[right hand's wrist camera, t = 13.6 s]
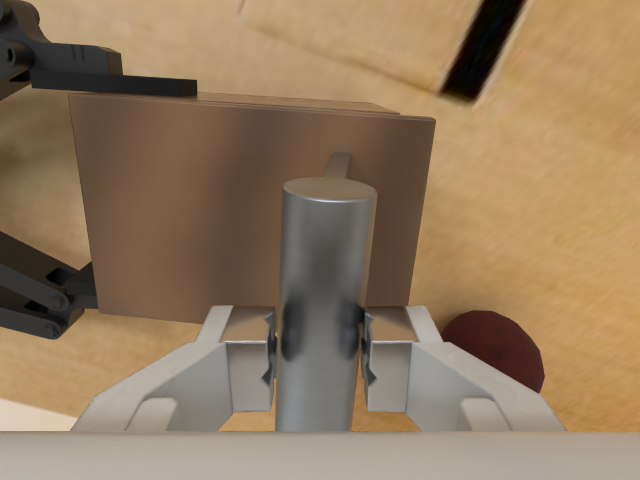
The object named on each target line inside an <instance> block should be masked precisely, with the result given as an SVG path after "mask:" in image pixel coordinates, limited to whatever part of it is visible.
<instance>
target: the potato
mask: <svg viewBox="0 0 640 480" xmlns="http://www.w3.org/2000/svg"><path fill="white" fill-rule="evenodd" d="M440 336H441V338H442V340H443V342H450V343H452V344H454V345H455V346H457V347H459V348H461V349H462V350H464V351H466V352H467V353H469V354H471V355H473V356H474V357H476V358H478V359H479V360H481V361H483V362H485V363H486V364H488V365H490V366H492V367H493V368H495V369H497V370H498V371H500V372H502V373H504V374H505V375H507V376H509V377H510V378H512V379H514V380H516V381H517V382H519V383H521V384H522V385H524V386H526V387H528V388H529V389H531V390H533V391H535V392H536V393H538V394H539V392H540V390H541V388H542V384H543V381H544V377H545V376H544V370H543V363H542V359H541V355H540V350H539V349H538V348H537V346H536V345H535V343H534V342H533V341H532V339H531V338H530V337H529V336H528V335H527V333H526V332H525V331H524V330H523V329H522V328H521V327H520V326H519V325H518V324H517V323H515V322H514V321H512V320H511V319H509V318H507V317H504V316H502V315H500V314H498V313H495V312H493V311H476V310H473V311H470V312H467V313H464V314H461V315H459V316H458V317H456V318H455V319H454V320H452V321H451V322H450V323H449V324H448V325H447V326H446V328H445V329H444V330H443V332H442V333H441V334H440Z"/></svg>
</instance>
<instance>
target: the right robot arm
mask: <svg viewBox="0 0 640 480" xmlns="http://www.w3.org/2000/svg"><path fill="white" fill-rule="evenodd" d="M276 325H277V317H276V308H275V306H234V305H220V306H212V307H211V309H210V311H209V313H208V315H207V317H206V319H205V322H204V324H203V326H202V328H201V330H200V332H199V334H198V336H197V338H196V340H195V342H188V343H186V344H184V345H183V346H181V347H179V348H177V349H176V350H174V351H172V352H170V353H169V354H167V355H165V356H163V357H162V358H160V359H158V360H156V361H155V362H153V363H151V364H150V365H148V366H146V367H144V368H143V369H141V370H139V371H137V372H136V373H134V374H132V375H130V376H129V377H127V378H125V379H124V380H122V381H120V382H118V383H117V384H115V385H113V386H111V387H110V388H108V389H106V390H104V391H103V392H101V393H99V394H97V395H96V396H95V397H94V398H93V400H92V401H91V402H90V404H89V405H88V406H87V408H86V409H85V411H84V412H83V413H82V415H81V416H80V417H79V419H78V420H77V422H76V423H75V424H74V426H73V427H72V429H71V430H70V431H0V480H640V431H567V429H566V428H565V427H564V425H563V424H562V422H561V421H560V420H559V418H558V417H557V415H556V414H555V413H554V411H553V410H552V408H551V407H550V406H549V404H548V403H547V401H546V400H545V398H544V397H543V396H541V395H540V394H538V393H536V392H535V391H533V390H531V389H529V388H528V387H526V386H524V385H522V384H521V383H519V382H517V381H516V380H514V379H512V378H510V377H509V376H507V375H505V374H504V373H502V372H500V371H498V370H497V369H495V368H493V367H492V366H490V365H488V364H486V363H485V362H483V361H481V360H479V359H478V358H476V357H474V356H473V355H471V354H469V353H467V352H466V351H464V350H462V349H461V348H459V347H457V346H455V345H454V344H452V343H450V342H443V340H442V338H441V336H440V334H439V332H438V330H437V328H436V326H435V324H434V321H433V319H432V317H431V315H430V313H429V311H428V309H427V307H426V306H424V305H414V306H367V307H363V309H362V329H363V336H362V338H361V370H362V377H363V378H364V379H365V386H364V392H365V398H366V404H367V411H373V412H406V415H407V416H408V417H409V418H410V419H411V420H412V422H413V423H414V424H415V425H416V426H417V427H418V428H419V429H420V430H421V431H217V430H218V429H219V428H220V427H221V426H222V425H223V424H224V423H225V422H226V421H227V420H228V419H229V418H230V417H231V416H232V415H233V413H232V412H264V411H271V406H272V399H273V393H274V378H276V373H277V362H278V338H277V337H276V336H275V331H276Z"/></svg>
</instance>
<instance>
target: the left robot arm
mask: <svg viewBox="0 0 640 480" xmlns="http://www.w3.org/2000/svg"><path fill="white" fill-rule="evenodd" d="M39 21H40V17H39V13H38V11H37V9H36V8H35V7H34V6H33V5H32V4H30V3H28V2H25V1H22V0H0V101H1V100H2V99H4V98H6V97H8V96H10V95H11V94H13V93H15V92H17V91H18V90H20V89H22V88H24V87H26V86H27V85H29V84H32V88H40V89H56V90H71V91H87V92H111V93H127V94H143V95H159V96H175V97H186V96H196V95H197V80H189V79H173V78H158V77H142V76H127V75H123V71H122V61H121V54H120V53H118V52H116V51H114V50H112V49H110V48H105V47H99V46H91V45H76V44H61V43H52V42H50V41H49V40H48V39H47V38H46V37H45V36H44V35H43V33H42V31H41V29H40V27H39ZM84 308H90V309H99V308H98V301H97V294H96V287H95V280H94V273H93V266H92V261H91V262H90V263H88V264H87V265H86V266H85V267H83V268H82V269H81V270H80V271H79V270H77V269H75V268H73V267H71V266H69V265H67V264H65V263H63V262H61V261H59V260H57V259H55V258H53V257H51V256H49V255H47V254H45V253H43V252H41V251H39V250H37V249H35V248H33V247H31V246H29V245H27V244H25V243H23V242H21V241H19V240H17V239H15V238H13V237H11V236H9V235H7V234H5V233H3V232H1V231H0V327H4V328H8V329H12V330H16V331H20V332H24V333H28V334H31V335H35V336H39V337H43V338H47V339H53V340H54V339H58V338H59V337H60V336H61V335H62V334H63V333H64V332H65V331H66V330H67V329H68V328H70V327H71V326H72V325H73V324H74V323H75V322H76V321H77V320H78V319H79V318H80V317H81V316H82V315H83V314H84V311H85V309H84Z"/></svg>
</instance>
